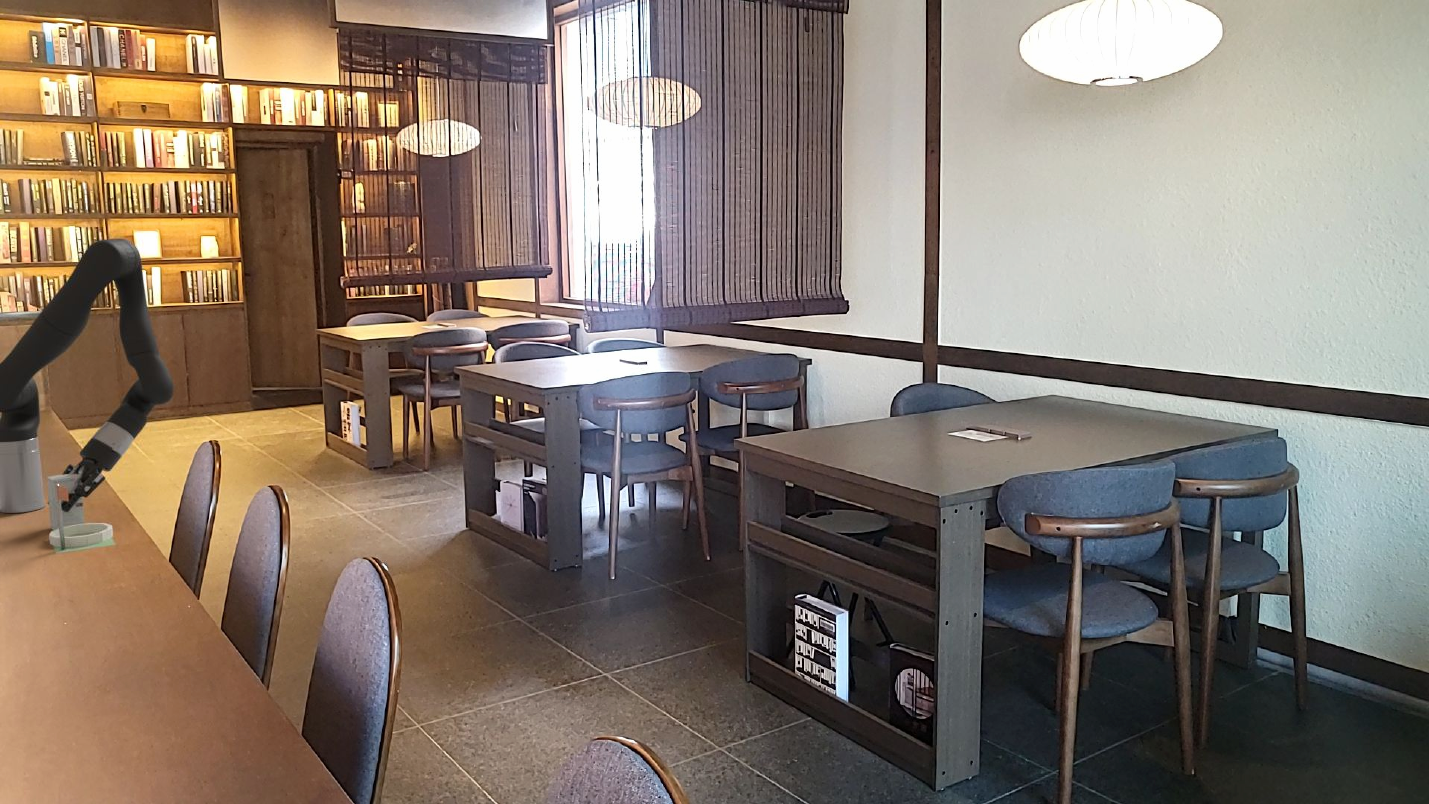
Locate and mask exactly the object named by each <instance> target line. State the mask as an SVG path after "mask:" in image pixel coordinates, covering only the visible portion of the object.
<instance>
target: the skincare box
mask: <svg viewBox="0 0 1429 804" xmlns="http://www.w3.org/2000/svg"><path fill="white" fill-rule="evenodd" d="M78 478H79V475H78V474H65V475H62V474H59V475H57V474H56V475H50V476H46V479H45V480H46V485H47V486H46V488H47V490H46V491H47V496H48V497H47V499H48V501H49V505H48V509H49V523H50V529H51V531H54V530H56V529H59V524H58V515H57V505H56V495H55V486H54V484H59V486H62V487H66V488H67V489H68V494H69V493H70V494H71V490H72V489H73V487H74V486H75V484H74V482H75V481H76V480H77V479H78ZM48 501H47V502H48ZM62 501H63V500H61V503H62ZM83 501H84V500H83V497H82V498H81V499H78V501H77V502H76V503H75V504H74V505H73V507H72V508H71V509H70V510H69V512H64V511H63V510H62V519H63V527H67V526H71V525H77V524H85V515H84V502H83Z"/></svg>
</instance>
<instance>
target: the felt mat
mask: <svg viewBox="0 0 1429 804" xmlns="http://www.w3.org/2000/svg"><path fill="white" fill-rule="evenodd" d="M89 534H94V533H84V534H76V535H71V536H67V537H75V536H84V535H89ZM52 546H53V545H52ZM110 546H116V543H115V541H114V538H113V537H112V538H110V539H108V540H106V541H103V542H100V543H95V544H91V545H86V546H76V547H65V548H66V550H61V547H56V546H53V550H54V553H55V554H64V553H70V552H71V553H72V552H77V551H83V550H90V549H97V548H102V547H103V548H105V547H110Z"/></svg>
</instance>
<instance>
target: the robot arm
mask: <svg viewBox="0 0 1429 804" xmlns="http://www.w3.org/2000/svg"><path fill="white" fill-rule="evenodd" d="M142 264H143V263H142V258H141V254H140V251H139V249H138V248H137V246H136V245H135V244H134V243H133V242H132V241H131V240H127V239H125V238H108V239H107V238H105V239H100V240H97V241H94V242H93V243H91V244H90V245H89V246H88V247H87V248H86V250H85V251H84V253H83V254H82V256H81V257H80V259H79V261H78V262H77V264H76V266H75V268H74V270H73V271H72V273H71V274H70V276H69V277H68V279H67V280H66V282H65V283H64V284H63V285H62V286H61V288H59V290H58V291H57V292H56V293H55V295H54V296H53V297H52V299H50V301H49V302H48V303H47V305H45V307H44V308H43V309H42V311H40V313H39V315H38V316H37V317H36V318H35V320H34V321H33V322H32V324H31V325H30V326H29V328H28V329H27V330H26V332H25V333H24V334H23V335H22V336H21V338H20V339H19V341H18V342H17V343H16V345H15V346H14V347H13V349H12V350H11V351H10V352H9V353H8V355H7V356H5V358H4V359H3V360H2V361H1V362H0V413H1V417H0V513H5V514H19V513H25V512H26V513H27V512H33V511H36V510H40V509H43V508H44V507H46V503H45V502H46V501H45V493H44V491H45V490H44V484H43V481H44V480H43V474H42V465H41V456H40V455H41V454H40V446H39V445H40V443H39V437H38V436H39V435H38V429H39V426H40V424H41V416H40V415H41V414H40V394H39V388H38V386H37V385H38V384H37V383H36V380H35V379H34V376H35V375H36V374H37V373H38V372H40V371H41V370H42V369H44V368H45V367H46V366H48V365H49V364H50V363H52V362H53V361H54V360H56V359H57V358H59V357H60V356H61V355H62V354H64V353H65V352H66V351H68V349H69V348H70V347H71V346H72V345H74V343H75V342H76V340H77V339H78V338H79V337H80V335H81V334H82V333H83V331H84V330H85V328H86V326H87V325H88V321H89V319H90V315H91V311H92V307H93V306H94V303H95V302H96V299H97V298H98V297H99V295H101V294H102V293H103V291H104V290H105V289H106V288H107V286H109V285H110V284H111V283H112V282H113V283H114V285H115V287H116V290H117V295H118V299H119V320H118V323H119V324H118V328H119V336H120V341H121V344H122V347H123V351H124V355H125V358H126V360H127V362H128V365H129V366H130V367H131V368H133V369H134V370H135V372H136V375H137V377H138V379H137V380H136V381H135V382H134V383H133V384H132V386H131V387H130V388H129V389H128V391H127V393H126V394H125V396H124V398H123V399H122V402H121V403H120V405H119V407H118V408H116V410H115V411H114V412H113V413H112V414H111V415H110V417H109V418H108V419H107V421H105V422H104V424H103V425H102V426H100V427H99V429H98V430H97V431H96V432H95V433H94V435H92V437H91V438H90V439H89V440H88V442H87V443H86V444H85V445H84V446H83V448H82V449H81V450H80V452H79V456H80V458H82V460H80V462H78V463H77V464H76V465H75V466H74V465H73V464H71V463H70V464H68V465H67V466H66V468H65V470H64V471H63V473H62V474H61V475H65V474H78V475H79V478H78V479H77V480H76V481H75V482H74V484H75V486H74V487H73V489H72V490H71V494H70V493H69V494H68V498H69V501H68V502H67V501H64V500H63V501H62V503H61V510H63V511H64V512H69V510H70V509H71V508H72V507H73V505H74V504H75V503H76V502H77V501H78V499H81V498H82V499H83V498H88V497H89V496H90V495H91V494H92V493H93V492H94V491H95V490H96V489H97V488H98V487H99V486H100V485H101V484H102V483H103V482H104V480H106V476H104V475H103V474H102V472H110V471H112V469H113V468H114V467H115V465H117V464H118V462H119V461H120V459H121V458H122V457H123V455H124V454H125V453H126V452H127V450H128V449H130V447H131V445H132V444H133V441H135V440H136V438H137V436H138V435H139V434H140V433H141V432H142V430H143V429H144V428H145V426H146V425H147V423H148V416H149V414H150V413H151V411H152V410H153V409H154V408H155V407H156V406H161V405H165V404H166V403H169V402H170V401H171V399H172V398H173V396H174V392H175V391H174V390H175V389H174V388H175V387H174V386H175V385H174V382H173V379H172V377H171V374H170V372H169V370H168V368H167V366H166V364H165V362H164V361H163V359H162V357H161V354H160V351H159V346H158V343H157V341H156V337H155V333H154V330H153V326H152V322H151V318H150V315H149V309H148V303H147V297H146V289H145V283H144V281H145V280H144V274H143V272H144V271H143V265H142ZM47 505H48V506H49V501H47Z"/></svg>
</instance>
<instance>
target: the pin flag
mask: <svg viewBox="0 0 1429 804" xmlns="http://www.w3.org/2000/svg"><path fill="white" fill-rule="evenodd" d="M54 486H55V495H56V505H57V515H58V524H59V534H60V543H61V550H66V548H65V539H64V529H63V519H62V510H61V500H64V501H67V502H68V501H69V498H68V489H67V488H66V487H62V486H59V484H54Z"/></svg>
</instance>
